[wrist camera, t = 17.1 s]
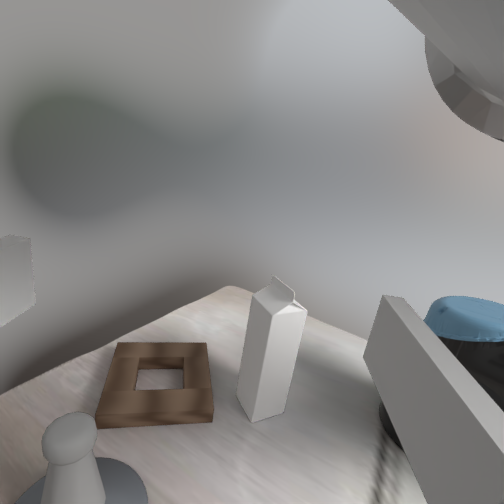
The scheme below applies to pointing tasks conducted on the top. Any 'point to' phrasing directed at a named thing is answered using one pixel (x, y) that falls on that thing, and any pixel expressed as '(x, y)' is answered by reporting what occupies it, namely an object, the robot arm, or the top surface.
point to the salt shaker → (72, 461)
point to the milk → (270, 350)
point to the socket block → (156, 401)
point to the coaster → (114, 482)
